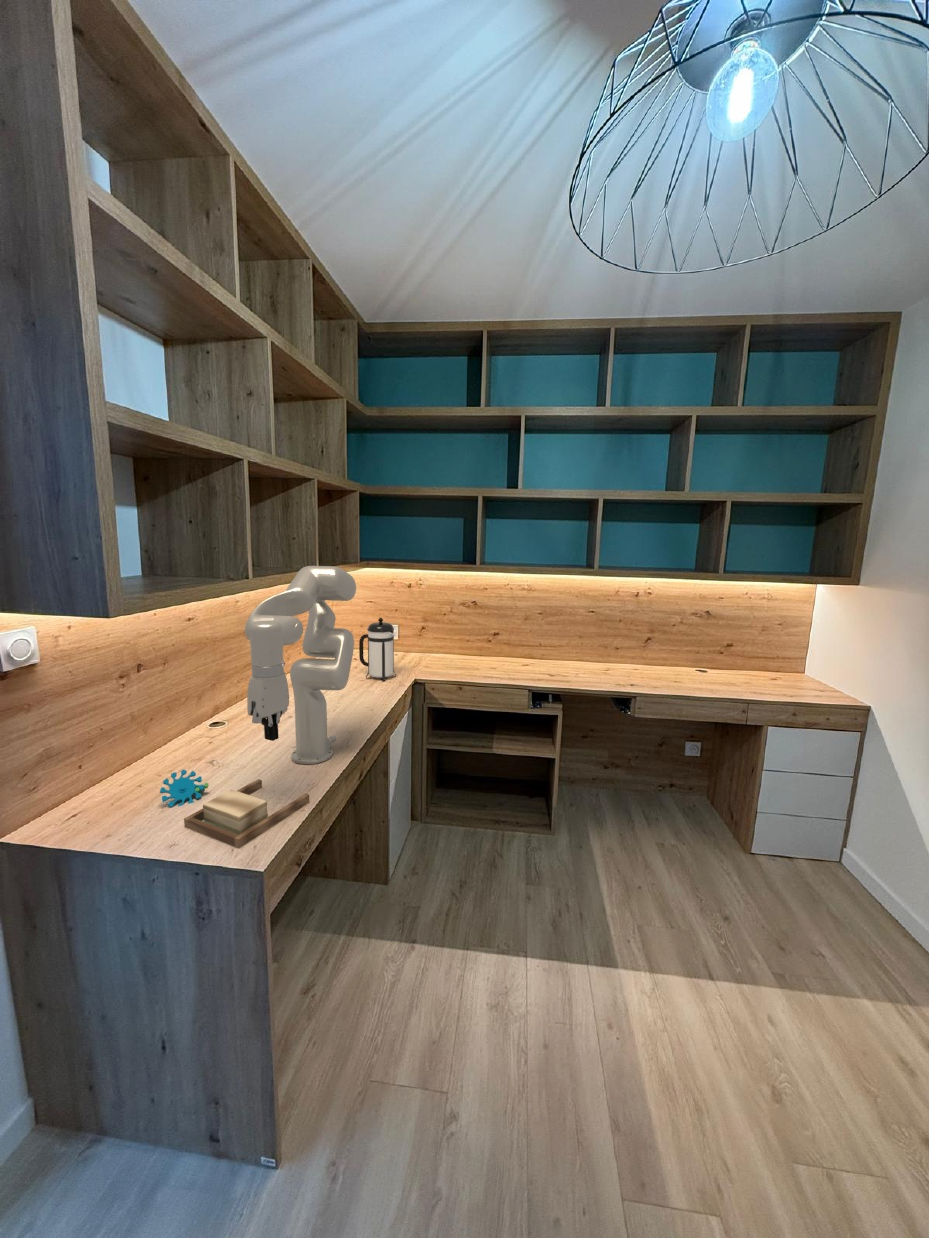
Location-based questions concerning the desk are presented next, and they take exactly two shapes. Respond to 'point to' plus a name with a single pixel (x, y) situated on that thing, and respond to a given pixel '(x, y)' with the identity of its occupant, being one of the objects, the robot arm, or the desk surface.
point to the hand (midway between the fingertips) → (271, 738)
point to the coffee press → (379, 650)
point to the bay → (238, 841)
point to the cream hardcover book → (235, 811)
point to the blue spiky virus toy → (183, 788)
